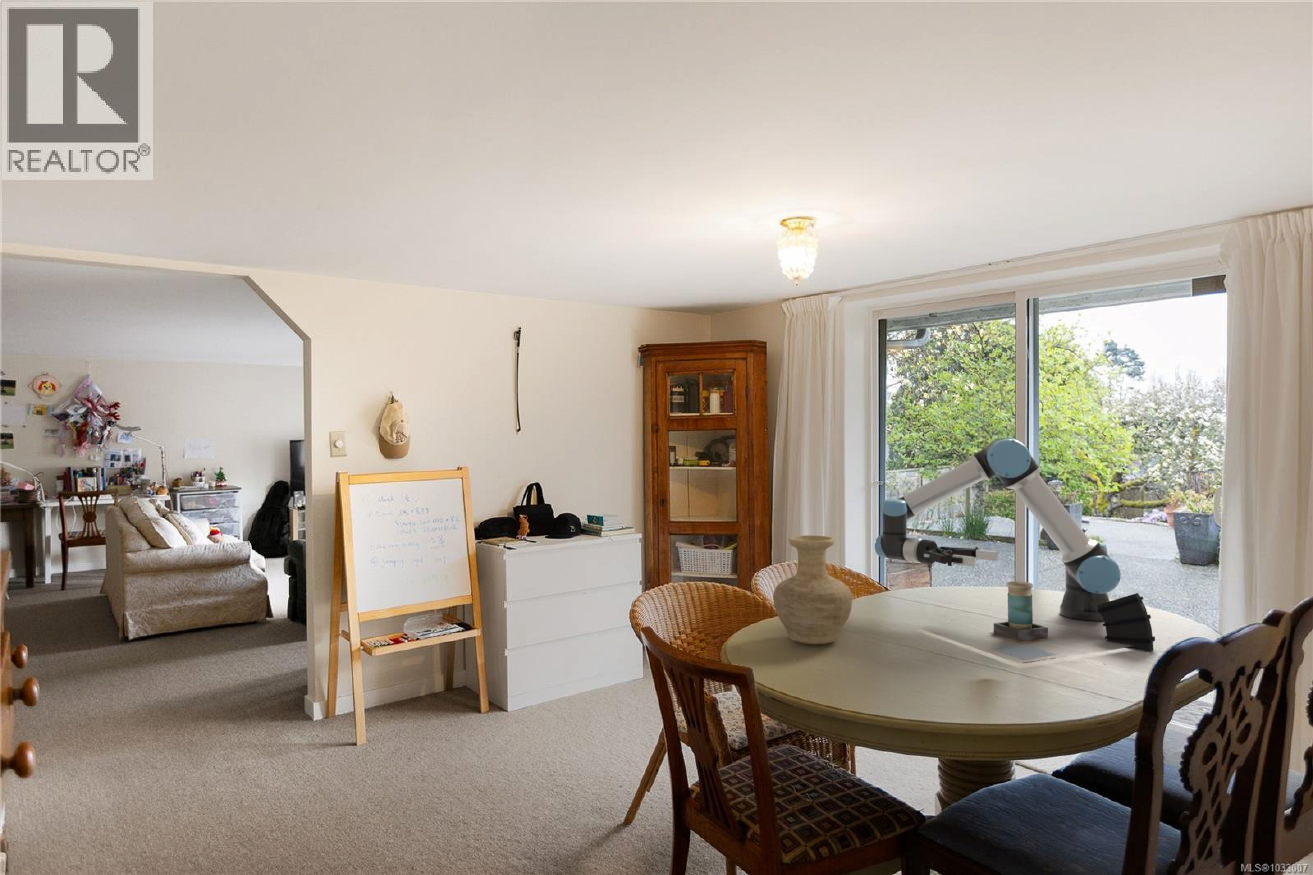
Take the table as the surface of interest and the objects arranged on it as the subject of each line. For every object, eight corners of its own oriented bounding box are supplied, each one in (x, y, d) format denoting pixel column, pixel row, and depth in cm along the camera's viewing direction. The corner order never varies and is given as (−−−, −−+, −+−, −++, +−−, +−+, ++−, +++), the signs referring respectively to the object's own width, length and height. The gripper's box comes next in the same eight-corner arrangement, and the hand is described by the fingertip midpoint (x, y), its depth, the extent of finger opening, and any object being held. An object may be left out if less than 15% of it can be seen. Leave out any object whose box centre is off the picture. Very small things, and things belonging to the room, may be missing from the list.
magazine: (1162, 648, 206) (1134, 594, 211) (1114, 660, 216) (1088, 608, 221) (1167, 646, 209) (1140, 592, 214) (1119, 657, 218) (1094, 605, 223)
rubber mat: (1023, 647, 216) (1023, 644, 216) (1056, 658, 205) (1055, 654, 205) (991, 652, 212) (991, 648, 212) (1023, 663, 202) (1023, 659, 202)
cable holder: (1020, 632, 232) (1020, 618, 232) (1053, 642, 221) (1053, 627, 221) (988, 636, 228) (988, 622, 228) (1020, 646, 217) (1020, 632, 217)
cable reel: (1020, 631, 229) (1019, 580, 229) (1039, 637, 222) (1038, 584, 222) (1002, 634, 226) (1001, 582, 226) (1020, 639, 220) (1019, 586, 220)
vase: (781, 629, 241) (779, 532, 240) (856, 634, 233) (854, 534, 233) (767, 649, 220) (765, 542, 219) (848, 655, 212) (846, 544, 212)
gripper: (942, 558, 256) (1006, 566, 240) (899, 567, 240) (964, 577, 224) (942, 535, 256) (1005, 542, 240) (899, 543, 240) (964, 551, 224)
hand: (986, 559), depth 232 cm, fingers open, 13 cm apart
